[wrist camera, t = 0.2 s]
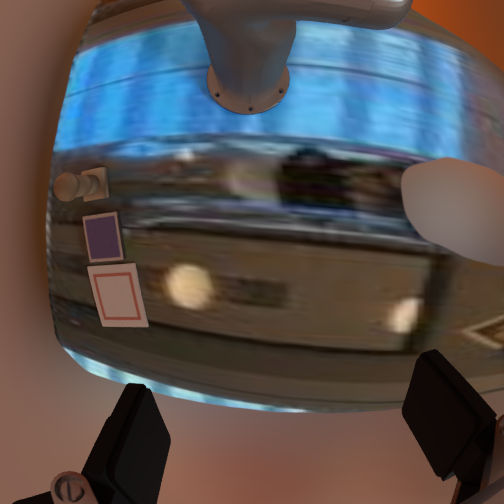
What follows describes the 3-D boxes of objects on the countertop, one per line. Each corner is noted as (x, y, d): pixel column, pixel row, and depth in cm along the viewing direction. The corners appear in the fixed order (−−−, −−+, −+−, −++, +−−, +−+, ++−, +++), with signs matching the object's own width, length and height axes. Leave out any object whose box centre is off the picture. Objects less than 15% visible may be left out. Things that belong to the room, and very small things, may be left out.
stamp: (88, 171, 40) (47, 172, 29) (107, 167, 40) (68, 166, 29) (91, 200, 42) (50, 208, 30) (110, 197, 42) (71, 204, 30)
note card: (87, 266, 45) (86, 266, 44) (135, 262, 45) (134, 263, 44) (103, 325, 48) (102, 326, 47) (148, 326, 48) (148, 327, 47)
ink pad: (85, 215, 42) (81, 217, 41) (119, 210, 42) (115, 211, 41) (93, 260, 44) (89, 262, 43) (126, 257, 44) (123, 260, 43)
